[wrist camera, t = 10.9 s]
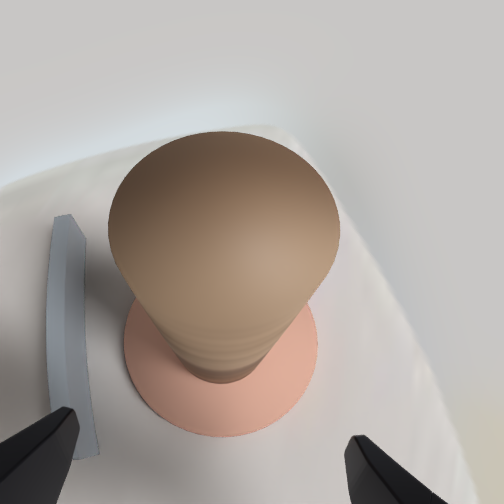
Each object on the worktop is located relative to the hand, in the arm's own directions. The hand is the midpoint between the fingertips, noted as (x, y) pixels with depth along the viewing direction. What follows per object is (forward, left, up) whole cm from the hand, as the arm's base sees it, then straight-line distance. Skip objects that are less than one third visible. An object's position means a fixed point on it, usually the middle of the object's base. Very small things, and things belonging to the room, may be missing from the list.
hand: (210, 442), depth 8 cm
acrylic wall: (+9, +4, -8) cm, 12 cm away
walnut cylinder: (+4, -3, -7) cm, 9 cm away
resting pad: (+4, -4, -8) cm, 9 cm away
